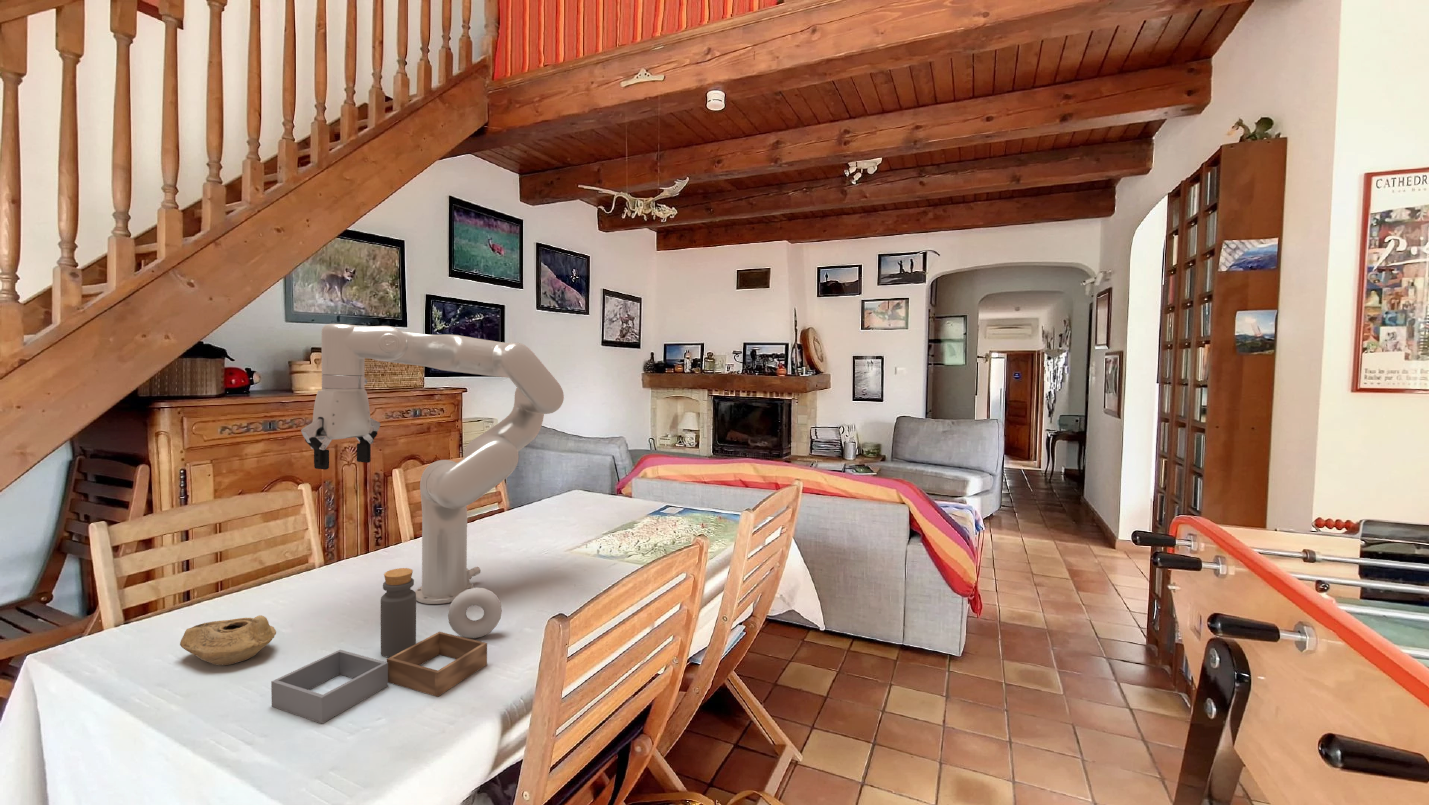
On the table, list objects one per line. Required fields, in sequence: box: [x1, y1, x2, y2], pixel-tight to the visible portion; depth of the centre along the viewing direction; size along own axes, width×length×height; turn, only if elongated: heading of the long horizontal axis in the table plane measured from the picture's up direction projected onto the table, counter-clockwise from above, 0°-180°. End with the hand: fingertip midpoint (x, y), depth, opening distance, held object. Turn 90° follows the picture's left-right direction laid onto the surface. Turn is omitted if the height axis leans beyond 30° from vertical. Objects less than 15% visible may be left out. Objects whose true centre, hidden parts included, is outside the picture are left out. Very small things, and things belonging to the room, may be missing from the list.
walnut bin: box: [386, 631, 488, 697], centre depth 101 cm, size 11×11×4 cm
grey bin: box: [270, 649, 389, 725], centre depth 93 cm, size 11×11×4 cm
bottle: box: [380, 567, 417, 658], centre depth 108 cm, size 6×6×15 cm
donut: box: [447, 587, 503, 639], centre depth 114 cm, size 10×4×10 cm, turn 106°
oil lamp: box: [179, 615, 277, 667], centre depth 103 cm, size 11×15×8 cm
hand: (343, 465), depth 120 cm, fingers open, 9 cm apart
